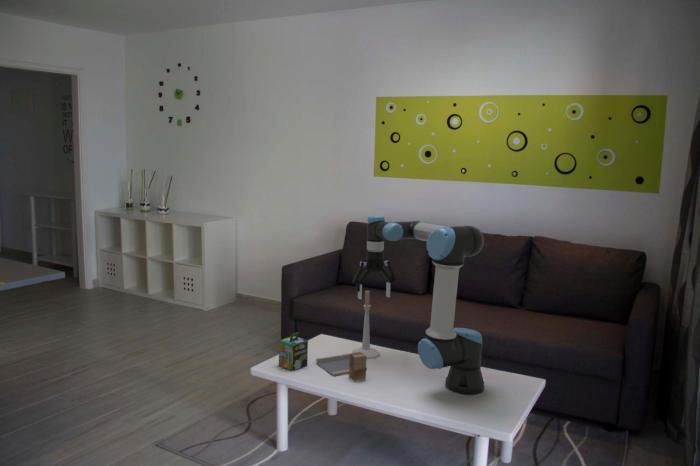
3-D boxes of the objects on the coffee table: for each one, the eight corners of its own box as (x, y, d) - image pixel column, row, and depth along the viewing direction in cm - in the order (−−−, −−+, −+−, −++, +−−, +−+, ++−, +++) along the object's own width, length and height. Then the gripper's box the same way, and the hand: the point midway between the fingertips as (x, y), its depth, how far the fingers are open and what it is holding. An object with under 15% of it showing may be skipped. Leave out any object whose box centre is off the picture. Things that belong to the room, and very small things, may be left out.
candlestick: (356, 348, 271) (357, 286, 267) (382, 351, 268) (384, 288, 264) (348, 357, 259) (350, 291, 255) (376, 360, 255) (378, 294, 252)
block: (365, 379, 233) (366, 355, 232) (354, 381, 230) (355, 357, 229) (359, 375, 237) (360, 351, 236) (348, 377, 235) (349, 353, 234)
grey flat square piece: (366, 370, 243) (366, 364, 243) (333, 376, 235) (333, 370, 235) (348, 358, 257) (348, 353, 256) (316, 363, 249) (316, 358, 249)
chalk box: (293, 360, 252) (293, 328, 251) (308, 365, 247) (308, 332, 245) (277, 366, 245) (278, 332, 244) (292, 371, 240) (293, 337, 238)
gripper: (397, 248, 261) (396, 294, 264) (345, 250, 253) (344, 297, 255) (404, 250, 254) (403, 297, 257) (351, 252, 246) (350, 301, 248)
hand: (374, 297), depth 256 cm, fingers open, 13 cm apart
